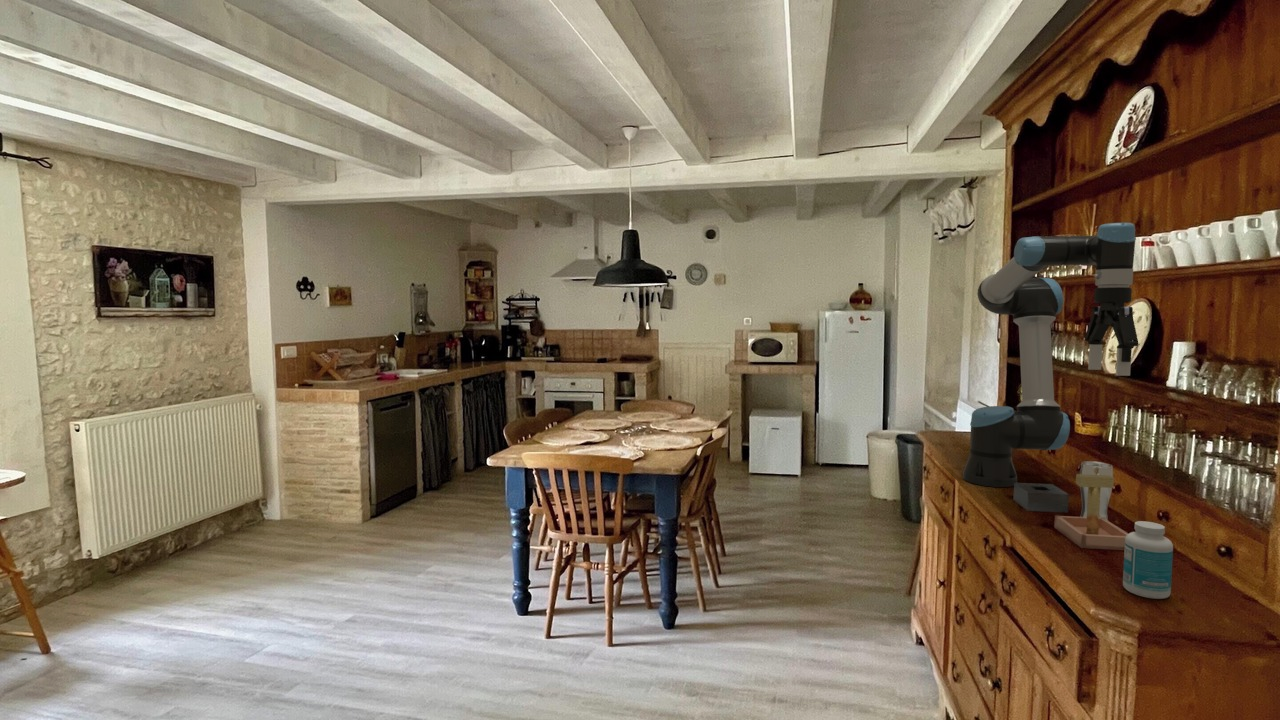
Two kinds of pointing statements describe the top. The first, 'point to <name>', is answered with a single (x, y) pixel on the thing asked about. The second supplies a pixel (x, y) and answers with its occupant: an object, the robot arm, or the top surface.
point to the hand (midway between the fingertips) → (1108, 372)
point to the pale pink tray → (1076, 532)
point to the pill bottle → (1148, 561)
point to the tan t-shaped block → (1094, 497)
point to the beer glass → (1105, 493)
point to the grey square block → (1041, 497)
